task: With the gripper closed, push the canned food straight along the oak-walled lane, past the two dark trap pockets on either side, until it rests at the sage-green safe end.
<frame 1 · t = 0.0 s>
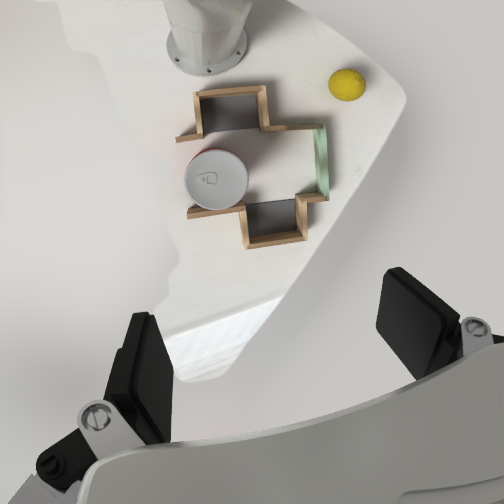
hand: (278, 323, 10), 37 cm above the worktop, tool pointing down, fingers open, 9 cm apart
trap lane: (251, 166, 44), on the worktop
canned food: (213, 171, 43), on the worktop
lemon: (335, 88, 41), on the worktop
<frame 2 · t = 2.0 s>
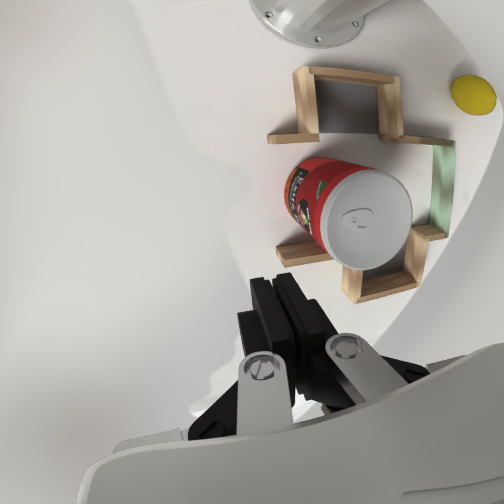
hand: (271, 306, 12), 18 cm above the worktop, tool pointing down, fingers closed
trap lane: (366, 188, 29), on the worktop
canned food: (317, 191, 29), on the worktop
lemon: (451, 94, 26), on the worktop
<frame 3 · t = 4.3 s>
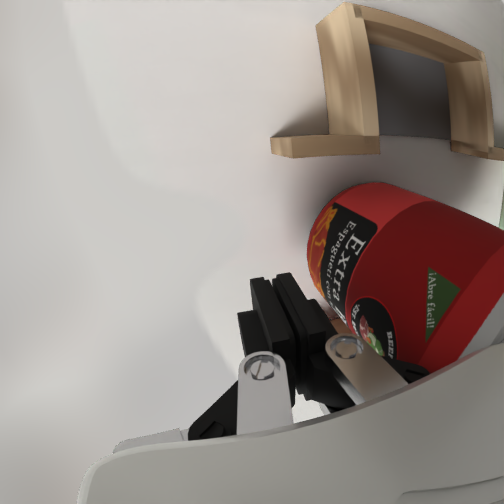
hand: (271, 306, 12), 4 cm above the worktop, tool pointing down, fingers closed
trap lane: (429, 228, 17), on the worktop
canned food: (360, 241, 16), on the worktop, touching gripper
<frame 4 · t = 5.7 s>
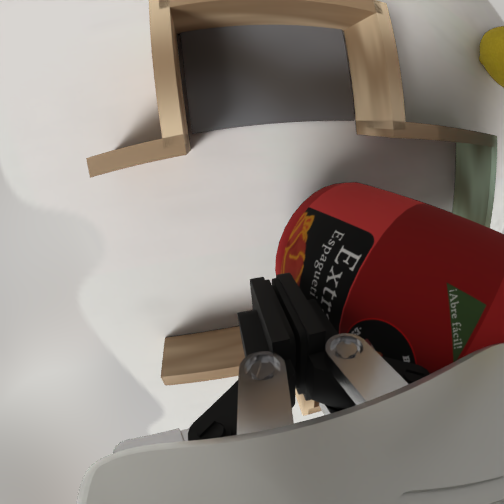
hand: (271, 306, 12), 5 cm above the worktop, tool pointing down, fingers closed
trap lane: (329, 230, 16), on the worktop
canned food: (328, 246, 15), point 1 cm above the worktop, touching gripper
lemon: (478, 60, 12), on the worktop
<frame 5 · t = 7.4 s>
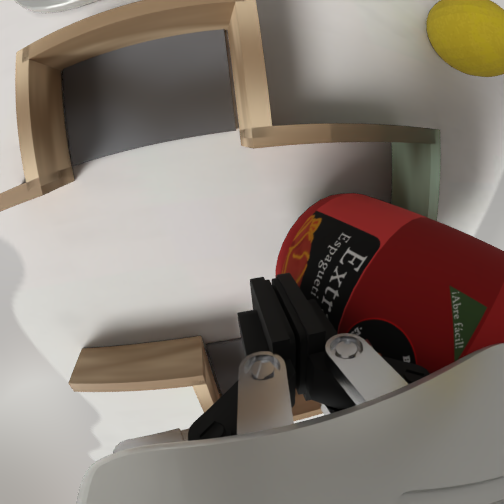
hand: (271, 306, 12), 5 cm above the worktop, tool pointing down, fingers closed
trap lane: (217, 253, 15), on the worktop
canned food: (328, 255, 15), point 1 cm above the worktop, touching gripper, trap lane
lemon: (430, 42, 12), on the worktop
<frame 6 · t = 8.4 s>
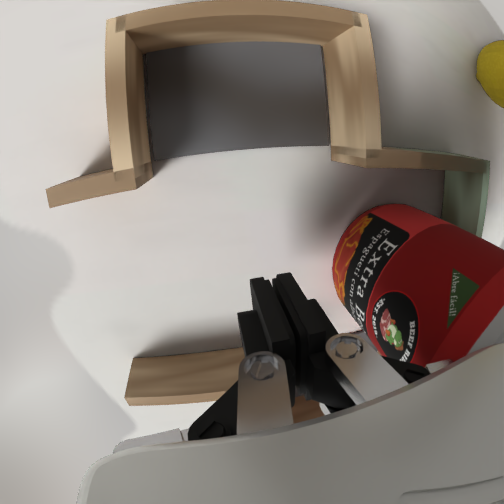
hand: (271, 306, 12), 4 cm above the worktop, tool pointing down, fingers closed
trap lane: (297, 261, 16), on the worktop
canned food: (381, 257, 17), on the worktop
lemon: (475, 77, 13), on the worktop
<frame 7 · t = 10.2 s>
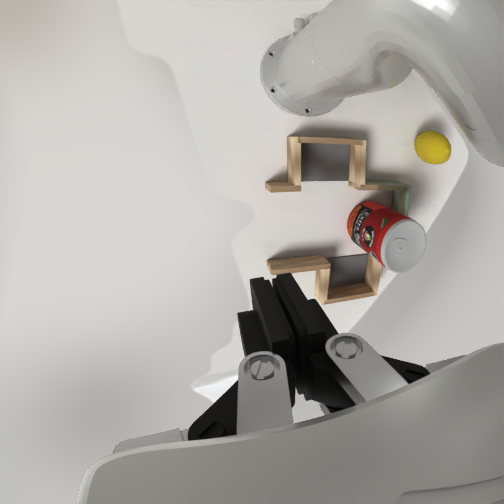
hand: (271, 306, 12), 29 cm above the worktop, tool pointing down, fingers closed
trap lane: (335, 220, 42), on the worktop
canned food: (365, 222, 43), on the worktop
lemon: (416, 145, 39), on the worktop
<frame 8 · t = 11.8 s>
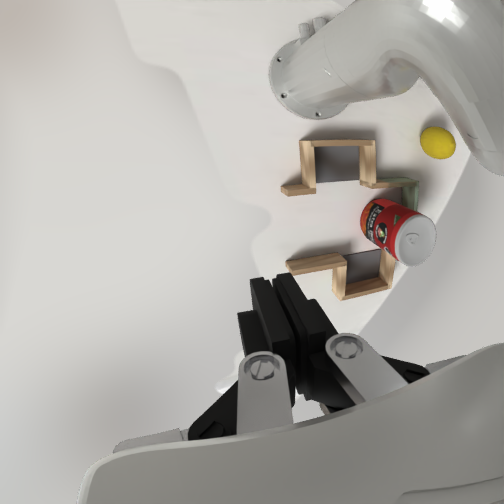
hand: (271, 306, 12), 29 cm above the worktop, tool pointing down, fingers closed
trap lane: (349, 219, 43), on the worktop
canned food: (377, 219, 44), on the worktop
lemon: (421, 140, 40), on the worktop
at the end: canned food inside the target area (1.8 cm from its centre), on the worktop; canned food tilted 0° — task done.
